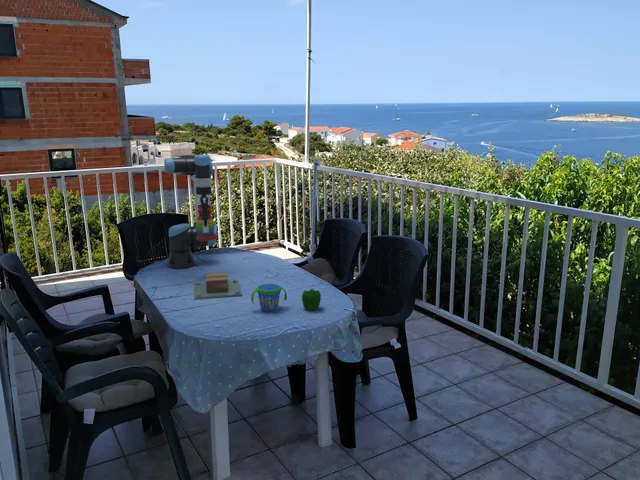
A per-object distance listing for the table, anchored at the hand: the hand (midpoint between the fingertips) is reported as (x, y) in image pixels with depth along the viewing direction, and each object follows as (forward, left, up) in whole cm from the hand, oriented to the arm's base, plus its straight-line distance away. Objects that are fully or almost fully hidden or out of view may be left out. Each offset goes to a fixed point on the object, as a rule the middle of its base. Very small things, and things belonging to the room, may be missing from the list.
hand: (205, 230), depth 265 cm
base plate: (+19, +4, -26) cm, 33 cm away
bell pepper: (+54, +43, -26) cm, 74 cm away
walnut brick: (+19, +4, -25) cm, 32 cm away
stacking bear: (0, 0, -5) cm, 5 cm away
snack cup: (+50, +25, -26) cm, 62 cm away
